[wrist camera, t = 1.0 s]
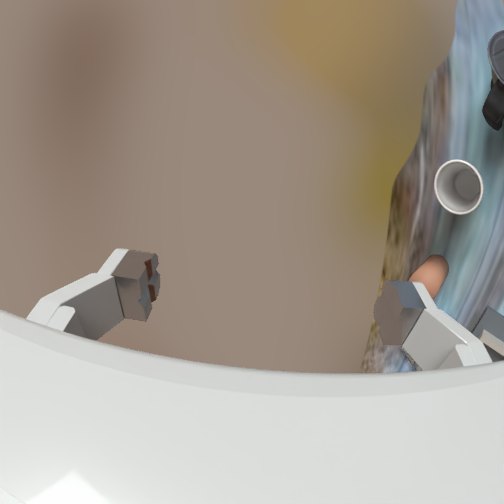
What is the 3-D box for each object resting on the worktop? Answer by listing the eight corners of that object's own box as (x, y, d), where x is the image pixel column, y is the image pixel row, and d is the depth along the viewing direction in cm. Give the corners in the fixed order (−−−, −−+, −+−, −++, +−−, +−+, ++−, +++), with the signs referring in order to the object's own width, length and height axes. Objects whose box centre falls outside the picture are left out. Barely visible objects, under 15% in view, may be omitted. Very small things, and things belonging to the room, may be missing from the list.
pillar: (453, 262, 42) (443, 280, 36) (441, 286, 44) (429, 307, 38) (430, 249, 45) (415, 264, 39) (419, 273, 47) (403, 292, 41)
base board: (532, 336, 30) (533, 347, 28) (485, 395, 38) (482, 408, 35) (487, 305, 38) (486, 315, 35) (445, 368, 45) (440, 380, 43)
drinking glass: (460, 211, 39) (448, 224, 29) (443, 175, 40) (423, 174, 30) (492, 194, 34) (492, 201, 24) (473, 157, 35) (466, 148, 25)
